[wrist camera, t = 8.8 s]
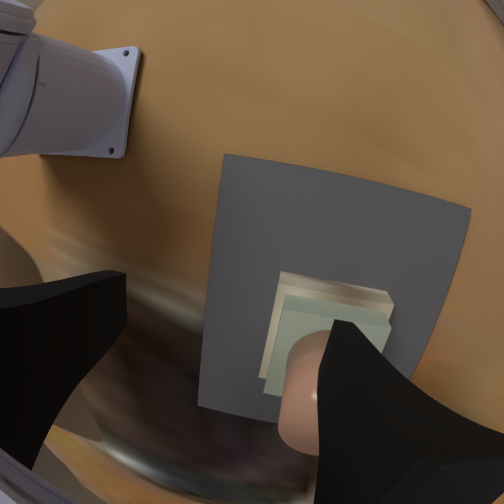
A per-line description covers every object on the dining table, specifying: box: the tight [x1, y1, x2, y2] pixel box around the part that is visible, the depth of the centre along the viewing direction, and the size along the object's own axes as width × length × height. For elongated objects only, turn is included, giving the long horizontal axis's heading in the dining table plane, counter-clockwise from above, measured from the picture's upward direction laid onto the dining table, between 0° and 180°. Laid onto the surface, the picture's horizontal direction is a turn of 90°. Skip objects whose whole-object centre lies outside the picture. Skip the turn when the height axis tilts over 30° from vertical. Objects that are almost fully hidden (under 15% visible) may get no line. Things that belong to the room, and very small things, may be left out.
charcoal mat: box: [198, 154, 472, 423], centre depth 21 cm, size 16×20×1 cm
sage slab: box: [263, 293, 391, 397], centre depth 18 cm, size 6×6×2 cm
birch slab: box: [259, 271, 394, 379], centre depth 20 cm, size 7×7×2 cm
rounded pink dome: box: [278, 330, 331, 456], centre depth 14 cm, size 4×4×5 cm
